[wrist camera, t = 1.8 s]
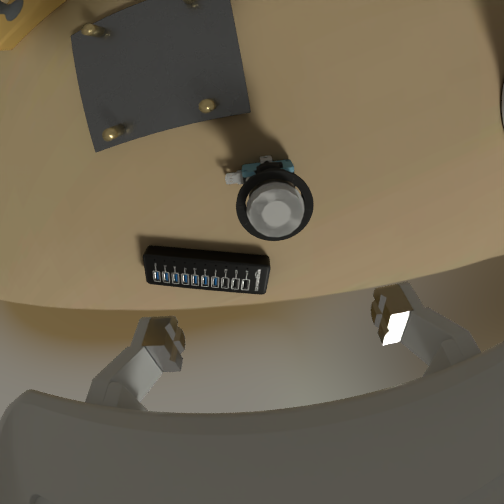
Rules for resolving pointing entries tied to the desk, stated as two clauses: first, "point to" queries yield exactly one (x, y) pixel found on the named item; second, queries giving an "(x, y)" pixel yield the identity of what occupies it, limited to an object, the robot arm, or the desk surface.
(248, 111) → the chassis
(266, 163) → the push button
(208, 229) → the desk surface
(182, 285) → the multiport hub
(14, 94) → the desk surface
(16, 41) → the rubber stamp
